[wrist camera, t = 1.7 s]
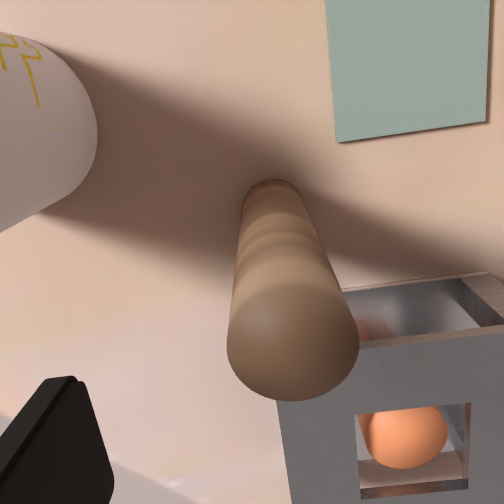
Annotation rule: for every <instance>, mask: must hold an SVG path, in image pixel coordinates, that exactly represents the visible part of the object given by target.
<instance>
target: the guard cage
mask: <svg viewBox="0 0 504 504" xmlns="http://www.w3.org/2000/svg"><path fill="white" fill-rule="evenodd" d="M341 290H342V292H343V295H344V297H345V299H346V302H347V304H348V306H349V309H350V311H351V313H352V316H353V318H354V320H355V323H356V325H357V329H358V332H359V339H360V347H359V353H358V357H357V360H356V363H355V365H354V367H353V369H352V370H351V372H350V373H349V375H348V376H347V377H346V378H345V379H344V381H343V382H341V383H340V384H339V385H338V386H337V387H335V388H334V389H333V390H331V391H329V392H328V393H326V394H324V395H321V396H319V397H316V398H313V399H309V400H304V401H295V402H288V401H279V400H276V403H277V409H278V416H279V422H280V429H281V435H282V442H283V448H284V455H285V461H286V468H287V475H288V481H289V488H290V494H291V501H292V504H504V285H503V284H502V283H501V282H499V281H498V280H497V279H495V278H494V277H493V276H492V275H490V274H489V273H488V272H486V271H480V272H472V273H464V274H456V275H448V276H441V277H433V278H425V279H417V280H409V281H401V282H393V283H385V284H377V285H369V286H362V287H354V288H346V289H341ZM431 406H436V407H437V408H438V410H439V412H440V414H441V415H442V417H443V419H444V421H445V423H446V425H447V429H448V436H447V441H446V443H445V446H444V447H443V449H442V450H441V452H448V451H456V452H457V454H458V456H459V458H460V460H461V461H462V463H463V479H456V480H446V481H436V482H426V483H416V484H406V485H396V486H386V487H376V488H366V489H360V481H359V469H358V461H361V460H371V459H374V458H373V457H372V456H371V455H370V454H369V452H368V450H367V447H366V444H365V441H364V437H363V434H362V431H361V428H360V425H359V421H358V418H357V415H358V414H368V413H377V412H386V411H395V410H404V409H413V408H422V407H431Z"/></svg>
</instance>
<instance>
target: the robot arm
mask: <svg viewBox="0 0 504 504" xmlns="http://www.w3.org/2000/svg"><path fill="white" fill-rule="evenodd" d="M113 489H114V475H113V471H112V468H111V465H110V462H109V458H108V455H107V452H106V449H105V446H104V442H103V439H102V436H101V433H100V429H99V426H98V423H97V420H96V417H95V413H94V410H93V407H92V404H91V401H90V397H89V394H88V391H87V388H86V385H85V383H84V382H82V381H78V380H77V379H76V377H75V376H64V377H56V378H48V379H45V380H44V381H43V382H42V384H41V385H40V386H39V387H38V389H37V390H36V391H35V393H34V394H33V395H32V397H31V398H30V399H29V400H28V402H27V403H26V404H25V406H24V407H23V408H22V409H21V411H20V412H19V413H18V415H17V416H16V417H15V418H14V420H13V421H12V422H11V424H10V425H9V426H8V428H7V429H6V430H5V432H4V433H3V434H2V435H1V437H0V504H109V502H110V499H111V496H112V493H113Z"/></svg>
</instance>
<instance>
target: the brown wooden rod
mask: <svg viewBox="0 0 504 504" xmlns="http://www.w3.org/2000/svg"><path fill="white" fill-rule="evenodd" d="M359 347H360V339H359V332H358V329H357V325H356V323H355V320H354V318H353V316H352V313H351V311H350V309H349V306H348V304H347V302H346V299H345V297H344V295H343V292H342V290H341V288H340V285H339V283H338V281H337V278H336V276H335V274H334V271H333V269H332V267H331V265H330V262H329V260H328V258H327V255H326V253H325V251H324V248H323V246H322V244H321V241H320V239H319V237H318V234H317V232H316V230H315V227H314V225H313V223H312V220H311V218H310V216H309V213H308V211H307V209H306V206H305V204H304V202H303V199H302V197H301V195H300V193H299V192H298V191H297V189H296V188H295V187H293V186H292V185H291V184H289V183H287V182H285V181H282V180H276V179H271V180H265V181H262V182H260V183H258V184H256V185H255V186H254V187H253V188H251V189H250V191H249V192H248V193H247V195H246V197H245V199H244V202H243V207H242V216H241V225H240V233H239V242H238V250H237V259H236V267H235V276H234V284H233V293H232V301H231V310H230V318H229V327H228V335H227V355H228V359H229V362H230V365H231V367H232V369H233V371H234V372H235V374H236V376H237V377H238V378H239V379H240V380H241V382H242V383H244V384H245V385H246V386H247V387H248V388H250V389H251V390H252V391H254V392H256V393H258V394H259V395H262V396H264V397H267V398H270V399H274V400H279V401H288V402H295V401H304V400H309V399H313V398H316V397H319V396H321V395H324V394H326V393H328V392H329V391H331V390H333V389H334V388H335V387H337V386H338V385H339V384H340V383H341V382H343V381H344V379H345V378H346V377H347V376H348V375H349V373H350V372H351V370H352V369H353V367H354V365H355V363H356V360H357V357H358V353H359Z"/></svg>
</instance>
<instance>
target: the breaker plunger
mask: <svg viewBox="0 0 504 504" xmlns="http://www.w3.org/2000/svg"><path fill="white" fill-rule="evenodd" d="M357 418H358V421H359V425H360V428H361V431H362V434H363V437H364V441H365V444H366V447H367V450H368V452H369V454H370V455H371V456H372V457H373V458H374V459H375V460H376V461H377V462H379V463H380V464H382V465H385V466H387V467H391V468H396V469H408V468H414V467H418V466H420V465H423V464H425V463H427V462H429V461H430V460H432V459H433V458H435V457H436V456H437V455H438V454H439V453H440V452H441V450H442V449H443V447H444V446H445V443H446V441H447V436H448V429H447V425H446V423H445V421H444V419H443V417H442V415H441V414H440V412H439V410H438V408H437V407H436V406H431V407H422V408H413V409H404V410H395V411H386V412H377V413H368V414H358V415H357Z"/></svg>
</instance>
